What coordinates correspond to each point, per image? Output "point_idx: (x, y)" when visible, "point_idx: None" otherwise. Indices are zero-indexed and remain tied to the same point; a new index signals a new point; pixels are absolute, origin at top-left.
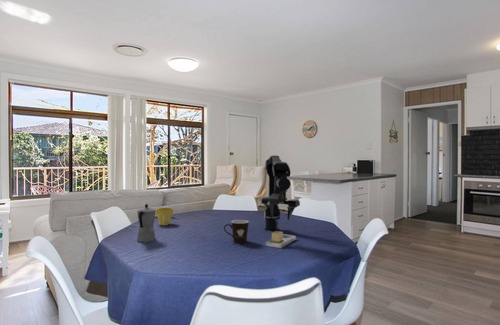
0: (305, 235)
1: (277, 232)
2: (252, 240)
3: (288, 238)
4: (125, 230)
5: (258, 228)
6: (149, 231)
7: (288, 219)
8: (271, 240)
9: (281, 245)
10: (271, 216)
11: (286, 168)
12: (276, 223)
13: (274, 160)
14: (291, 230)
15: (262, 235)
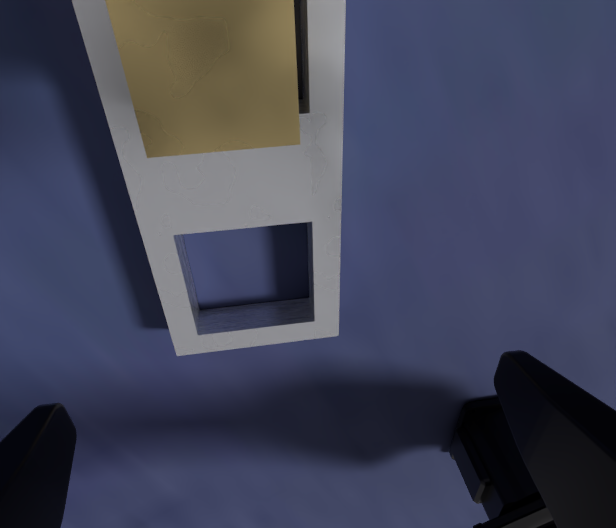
0: (190, 446)
1: (206, 65)
2: (588, 18)
3: (174, 241)
4: None
5: (600, 390)
6: None
7: (21, 421)
8: (307, 19)
9: None
10: (526, 375)
11: None
12: (476, 476)
13: None
14: (349, 472)
15: (521, 260)
